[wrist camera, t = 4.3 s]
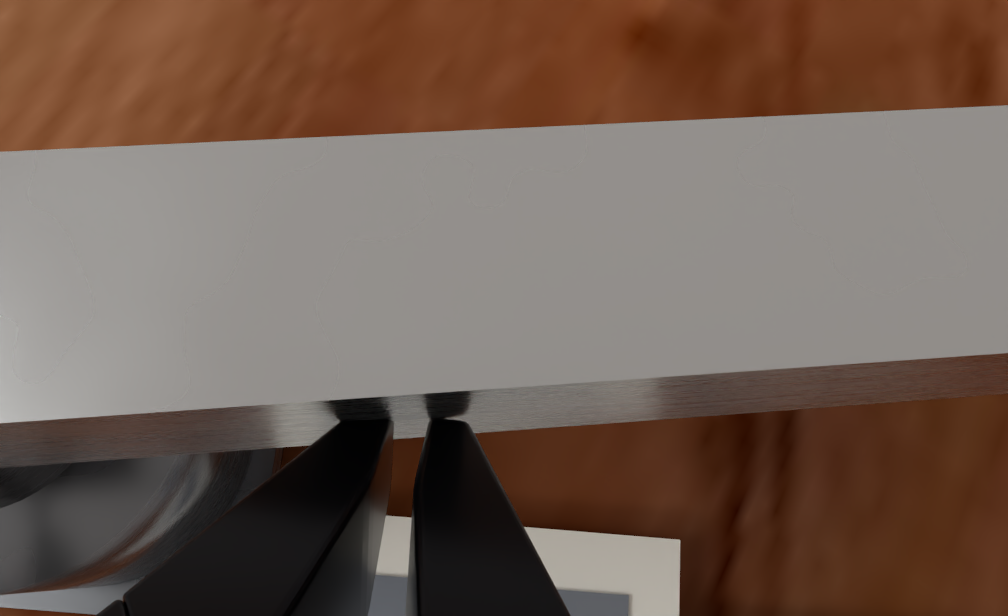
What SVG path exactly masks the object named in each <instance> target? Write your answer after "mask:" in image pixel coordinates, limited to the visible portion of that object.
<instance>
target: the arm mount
mask: <svg viewBox="0 0 1008 616" xmlns="http://www.w3.org/2000/svg"><path fill="white" fill-rule="evenodd" d="M283 448H284V447H281V448H267V449H254V450H240V451H226V452H213V453H199V454H186V455H172V456H159V457H145V458H131V459H118V460H104V461H91V462H77V463H71V464H70V465H69V466H68V468H67V469H66V470H65V471H63V472H62V473H61V474H60V475H59V476H58V477H57V478H56V479H54V480H53V481H52V482H51V483H49V484H48V485H46V486H45V487H43V488H42V489H41V490H39V491H38V492H36V493H34V494H32V495H30V496H29V497H27V498H25V499H23V500H21V501H19V502H16V503H14V504H11V505H9V506H6V507H3V508H0V607H5V608H18V609H31V610H44V611H57V612H69V613H82V614H95V615H97V614H98V613H100V612H101V611H102V610H103V609H105V608H106V607H107V606H108V605H110V604H111V603H112V602H113V601H115V600H122V597H123V595H124V593H125V592H127V591H128V590H129V589H130V588H132V587H133V586H134V585H135V584H137V583H138V582H139V581H140V580H142V579H143V578H144V577H145V576H147V575H148V574H149V573H150V572H152V571H153V570H154V569H155V568H157V567H158V566H159V565H160V564H162V563H163V562H164V561H166V560H167V559H168V558H169V557H171V556H172V555H173V554H174V553H176V552H177V551H178V550H179V549H181V548H182V547H183V546H184V545H186V544H187V543H188V542H189V541H191V540H192V539H193V538H194V537H196V536H197V535H198V534H199V533H201V532H202V531H203V530H204V529H206V528H207V527H208V526H209V525H211V524H212V523H213V522H214V521H216V520H217V519H218V518H220V517H221V516H222V515H223V514H225V513H226V512H227V511H228V510H230V509H231V508H232V507H233V506H235V505H236V504H237V503H238V502H240V501H241V500H242V499H243V498H245V497H246V496H247V495H248V494H250V493H251V492H252V491H253V490H255V489H256V488H257V487H258V486H260V485H261V484H262V483H263V482H265V481H266V480H267V479H268V478H270V477H271V476H272V475H274V474H275V473H276V472H277V471H279V470H280V467H281V461H282V454H283ZM122 601H123V600H122Z"/></svg>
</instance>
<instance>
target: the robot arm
mask: <svg viewBox="0 0 1008 616" xmlns="http://www.w3.org/2000/svg"><path fill="white" fill-rule="evenodd" d="M393 437H394V423H393V421H392V420H388V419H376V420H344V421H340V422H339V423H338V424H336V425H335V426H334V427H333V428H331V429H330V430H329V431H328V432H326V433H325V434H324V435H322V436H321V437H320V438H319V439H317V440H316V441H315V442H314V443H312V444H311V445H310V446H309V447H307V448H306V449H305V450H304V451H302V452H301V453H300V454H299V455H297V456H296V457H295V458H294V459H292V460H291V461H290V462H289V463H287V464H286V465H285V466H284V467H282V468H281V469H280V470H279V471H277V472H276V473H275V474H274V475H272V476H271V477H270V478H268V479H267V480H266V481H265V482H263V483H262V484H261V485H260V486H258V487H257V488H256V489H255V490H253V491H252V492H251V493H250V494H248V495H247V496H246V497H245V498H243V499H242V500H241V501H240V502H238V503H237V504H236V505H235V506H233V507H232V508H231V509H230V510H228V511H227V512H226V513H225V514H223V515H222V516H221V517H220V518H218V519H217V520H216V521H214V522H213V523H212V524H211V525H209V526H208V527H207V528H206V529H204V530H203V531H202V532H201V533H199V534H198V535H197V536H196V537H194V538H193V539H192V540H191V541H189V542H188V543H187V544H186V545H184V546H183V547H182V548H181V549H179V550H178V551H177V552H176V553H174V554H173V555H172V556H171V557H169V558H168V559H167V560H166V561H164V562H163V563H162V564H160V565H159V566H158V567H157V568H155V569H154V570H153V571H152V572H150V573H149V574H148V575H147V576H145V577H144V578H143V579H142V580H140V581H139V582H138V583H137V584H135V585H134V586H133V587H132V588H130V589H129V590H128V591H127V592H125V593H124V595H123V597H122V600H123V601H122V600H115V601H113V602H112V603H111V604H110V605H108V606H107V607H106V608H105V609H103V610H102V611H101V612H100V613H98V614H97V615H96V616H368V612H369V608H370V602H371V597H372V591H373V585H374V580H375V574H376V569H377V563H378V557H379V552H380V546H381V540H382V535H383V529H384V523H385V518H386V512H387V506H388V501H389V495H390V487H391V476H392V456H393ZM405 616H571V615H570V613H569V611H568V609H567V608H566V606H565V604H564V602H563V600H562V598H561V596H560V594H559V592H558V591H557V589H556V587H555V585H554V583H553V581H552V579H551V577H550V575H549V574H548V572H547V570H546V568H545V566H544V564H543V562H542V560H541V558H540V557H539V555H538V553H537V551H536V549H535V547H534V545H533V543H532V541H531V540H530V538H529V536H528V534H527V532H526V530H525V528H524V526H523V524H522V523H521V521H520V519H519V517H518V515H517V513H516V511H515V509H514V507H513V506H512V504H511V502H510V500H509V498H508V496H507V494H506V492H505V490H504V489H503V487H502V485H501V483H500V481H499V479H498V477H497V475H496V473H495V472H494V470H493V468H492V466H491V464H490V462H489V460H488V458H487V456H486V455H485V453H484V451H483V449H482V447H481V445H480V443H479V441H478V439H477V438H476V436H475V434H474V432H473V430H472V428H471V426H470V425H469V424H468V423H467V422H466V421H461V420H451V419H440V418H434V419H431V420H430V421H429V423H428V426H427V430H426V434H425V439H424V443H423V447H422V452H421V456H420V460H419V465H418V469H417V473H416V478H415V484H414V490H413V505H412V520H411V535H410V550H409V565H408V580H407V595H406V610H405Z"/></svg>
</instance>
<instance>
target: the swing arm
mask: <svg viewBox="0 0 1008 616" xmlns="http://www.w3.org/2000/svg"><path fill="white" fill-rule="evenodd" d="M1000 394H1008V105H1007V106H985V107H964V108H942V109H920V110H899V111H877V112H855V113H834V114H812V115H790V116H769V117H747V118H725V119H704V120H682V121H660V122H639V123H617V124H595V125H573V126H552V127H530V128H509V129H487V130H465V131H443V132H422V133H400V134H378V135H357V136H335V137H313V138H292V139H270V140H248V141H227V142H205V143H183V144H162V145H140V146H118V147H97V148H75V149H53V150H32V151H10V152H0V508H3V507H6V506H9V505H11V504H14V503H16V502H19V501H21V500H23V499H25V498H27V497H29V496H30V495H32V494H34V493H36V492H38V491H39V490H41V489H42V488H43V487H45V486H46V485H48V484H49V483H51V482H52V481H53V480H54V479H56V478H57V477H58V476H59V475H60V474H61V473H62V472H63V471H65V470H66V469H67V468H68V466H69V465H70V464H71V463H77V462H91V461H104V460H118V459H131V458H145V457H159V456H172V455H186V454H199V453H213V452H226V451H240V450H254V449H267V448H281V447H294V446H308V445H311V444H312V443H314V442H315V441H316V440H317V439H319V438H320V437H321V436H322V435H324V434H325V433H326V432H328V431H329V430H330V429H331V428H333V427H334V426H335V425H336V424H338V423H339V422H340V421H344V420H376V419H388V420H392V421H393V423H394V437H393V439H403V438H417V437H425V434H426V430H427V426H428V423H429V421H430V420H431V419H434V418H440V419H451V420H461V421H466V422H467V423H468V424H469V425H470V426H471V428H472V430H473V432H474V433H484V432H498V431H512V430H525V429H539V428H552V427H566V426H579V425H593V424H607V423H620V422H634V421H647V420H661V419H675V418H688V417H702V416H715V415H729V414H742V413H756V412H770V411H783V410H797V409H810V408H824V407H838V406H851V405H865V404H878V403H892V402H905V401H919V400H933V399H946V398H960V397H973V396H987V395H1000Z"/></svg>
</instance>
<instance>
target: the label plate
mask: <svg viewBox="0 0 1008 616" xmlns="http://www.w3.org/2000/svg"><path fill="white" fill-rule="evenodd" d="M411 520H412V518H410V517H398V516H386V518H385V523H384V529H383V535H382V540H381V546H380V552H379V557H378V563H377V569H376V574H375V580H374V585H373V591H372V597H371V602H370V608H369V612H368V616H405V610H406V595H407V580H408V565H409V550H410V535H411ZM524 528H525V530H526V532H527V534H528V536H529V538H530V540H531V541H532V543H533V545H534V547H535V549H536V551H537V553H538V555H539V557H540V558H541V560H542V562H543V564H544V566H545V568H546V570H547V572H548V574H549V575H550V577H551V579H552V581H553V583H554V585H555V587H556V589H557V591H558V592H559V594H560V596H561V598H562V600H563V602H564V604H565V606H566V608H567V609H568V611H569V613H570V615H571V616H679V594H680V540H677V539H665V538H653V537H641V536H629V535H617V534H604V533H592V532H580V531H568V530H556V529H544V528H532V527H524Z"/></svg>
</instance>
